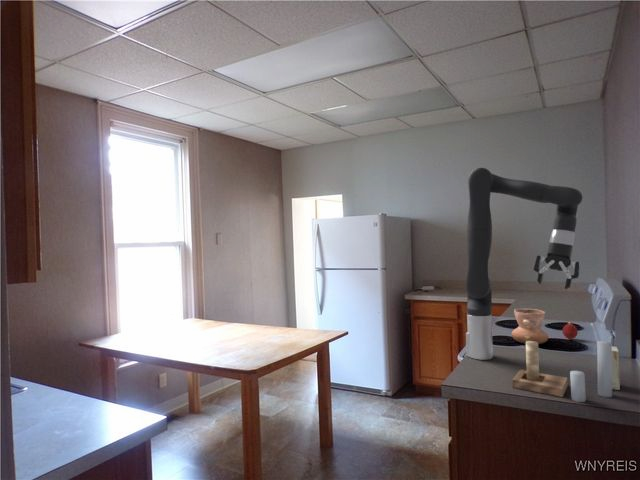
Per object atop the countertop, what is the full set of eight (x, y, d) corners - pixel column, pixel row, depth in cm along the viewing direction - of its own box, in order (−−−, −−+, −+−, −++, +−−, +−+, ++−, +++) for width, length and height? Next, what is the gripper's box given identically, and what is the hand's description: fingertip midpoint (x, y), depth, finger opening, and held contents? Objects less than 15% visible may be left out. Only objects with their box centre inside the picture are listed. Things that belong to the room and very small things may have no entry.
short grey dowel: (569, 399, 120) (568, 373, 119) (573, 395, 122) (572, 369, 121) (583, 403, 117) (582, 376, 116) (587, 398, 119) (586, 372, 119)
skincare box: (620, 390, 124) (619, 351, 124) (603, 388, 127) (602, 349, 127) (618, 383, 130) (617, 346, 130) (601, 381, 132) (600, 344, 132)
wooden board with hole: (512, 387, 130) (512, 379, 130) (520, 376, 139) (520, 369, 139) (562, 397, 121) (562, 388, 121) (567, 385, 130) (567, 377, 130)
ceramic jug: (545, 349, 168) (544, 315, 168) (507, 344, 177) (507, 312, 177) (551, 340, 182) (551, 308, 182) (516, 335, 191) (516, 305, 191)
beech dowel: (525, 385, 131) (524, 343, 131) (528, 382, 134) (527, 340, 134) (538, 388, 129) (536, 344, 129) (540, 384, 132) (539, 341, 131)
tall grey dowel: (597, 395, 122) (596, 342, 121) (598, 391, 124) (597, 340, 124) (611, 398, 119) (611, 344, 119) (612, 394, 122) (612, 341, 122)
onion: (580, 341, 177) (579, 323, 177) (565, 341, 178) (565, 323, 178) (574, 338, 183) (574, 320, 183) (560, 338, 184) (560, 320, 184)
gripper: (537, 239, 149) (529, 282, 150) (582, 245, 140) (574, 290, 141) (541, 241, 155) (533, 282, 156) (585, 246, 146) (576, 290, 147)
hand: (553, 286), depth 148 cm, fingers open, 8 cm apart
